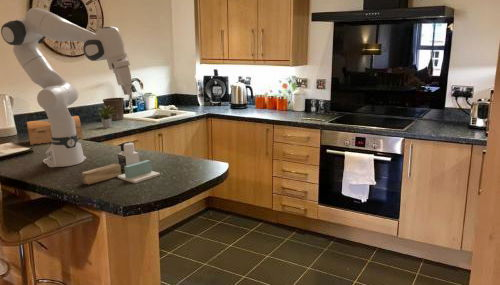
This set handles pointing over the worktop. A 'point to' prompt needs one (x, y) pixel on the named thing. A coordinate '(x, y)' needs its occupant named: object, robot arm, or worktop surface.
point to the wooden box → (47, 130)
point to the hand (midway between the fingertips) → (128, 94)
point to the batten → (101, 173)
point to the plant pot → (118, 107)
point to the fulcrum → (138, 172)
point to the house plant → (106, 117)
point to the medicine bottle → (127, 155)
